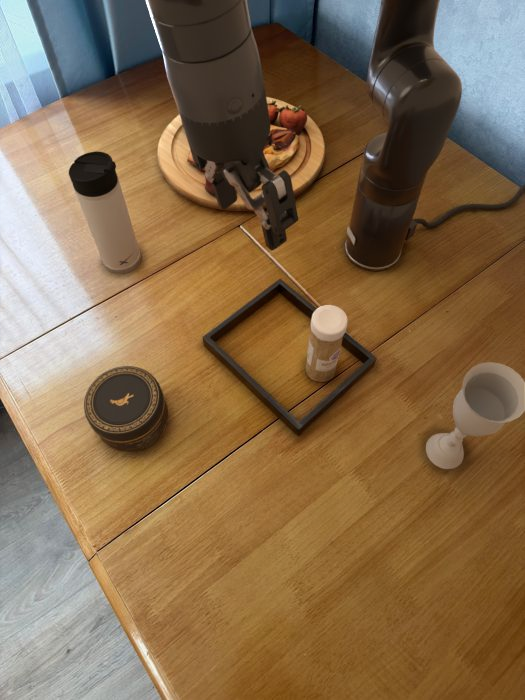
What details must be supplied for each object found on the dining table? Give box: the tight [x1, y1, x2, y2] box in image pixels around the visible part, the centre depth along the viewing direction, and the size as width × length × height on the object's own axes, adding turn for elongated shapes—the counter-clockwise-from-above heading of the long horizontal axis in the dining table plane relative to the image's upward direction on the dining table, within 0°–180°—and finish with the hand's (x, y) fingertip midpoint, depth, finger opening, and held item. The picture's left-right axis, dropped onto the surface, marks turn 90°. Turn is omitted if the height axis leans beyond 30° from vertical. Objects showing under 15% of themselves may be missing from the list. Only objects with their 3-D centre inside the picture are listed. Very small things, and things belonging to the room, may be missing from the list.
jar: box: [83, 365, 169, 453], centre depth 70 cm, size 10×10×8 cm
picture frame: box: [201, 278, 378, 437], centre depth 78 cm, size 16×20×2 cm
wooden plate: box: [156, 96, 327, 212], centre depth 98 cm, size 32×32×8 cm
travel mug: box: [68, 150, 142, 275], centre depth 80 cm, size 6×7×20 cm
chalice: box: [425, 361, 525, 470], centre depth 63 cm, size 7×7×18 cm
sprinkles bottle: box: [305, 304, 349, 383], centre depth 72 cm, size 5×5×14 cm
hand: (251, 223), depth 58 cm, fingers open, 8 cm apart
